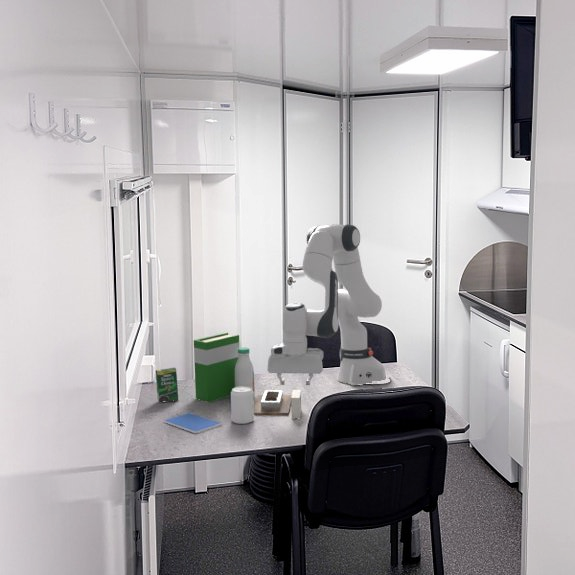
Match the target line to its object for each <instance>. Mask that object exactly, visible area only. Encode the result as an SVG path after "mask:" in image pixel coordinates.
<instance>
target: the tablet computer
mask: <svg viewBox="0 0 575 575" xmlns="http://www.w3.org/2000/svg"><path fill="white" fill-rule="evenodd" d="M162 422H166V423H168V424H167V425H169V424H171V425H170V426H172V425H173V426H172V427H175V426H176V427H175V428H179V429H181V430H183V429H184V430H185V431H187V432H190V433H192V434H197V433H198V434H200V433H204V432H207V431H210V430H213V429H216V428H219V427H221V426H222V425H223V424H222V422H218V421H216V420H213V419H209V418H206V417H203V416H200V415H198V414H194V413H191V412H187V413H183V414H181V415H177V416H173V417H170V418H167V419H164V420H163V421H162ZM166 423H165V424H166ZM198 434H197V435H198Z"/></svg>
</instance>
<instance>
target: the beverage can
mask: <svg viewBox="0 0 575 575" xmlns="http://www.w3.org/2000/svg"><path fill="white" fill-rule="evenodd" d="M254 403H255V399H254V397H253V391H252V388H250V387H246V386H240V387H235V388H233V389H232V392H231V395H230V407H231V408H230V411H231V422H232V423H235V424H237V425H246V423H247V424H250V423H251V422H253V421H254V420H255V415H254ZM249 422H250V423H249Z"/></svg>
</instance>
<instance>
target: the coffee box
mask: <svg viewBox="0 0 575 575" xmlns="http://www.w3.org/2000/svg"><path fill="white" fill-rule="evenodd" d="M177 374H178V373H177V369H176V367H170V368H162V369H155V380H156V393H157V395H156V396H157V397H156V398H157V402H158V401H159V402H163V401H171V402H176V401H175V400H178V401H179V390H178V375H177ZM173 400H174V401H173ZM159 402H158V403H159Z"/></svg>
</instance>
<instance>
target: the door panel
mask: <svg viewBox="0 0 575 575" xmlns="http://www.w3.org/2000/svg"><path fill="white" fill-rule="evenodd" d="M291 395H292V397H291V405H290V409H291V410H290V411H291V420H292V419H293V420H296V419H295V418H300V419H301V414H302V390H301V389H293V390H292V393H291Z"/></svg>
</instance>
